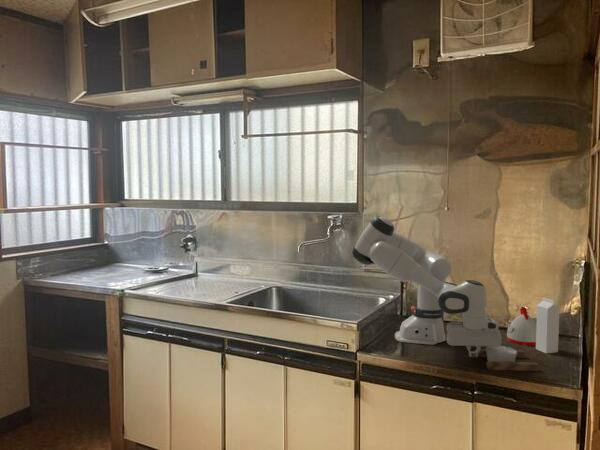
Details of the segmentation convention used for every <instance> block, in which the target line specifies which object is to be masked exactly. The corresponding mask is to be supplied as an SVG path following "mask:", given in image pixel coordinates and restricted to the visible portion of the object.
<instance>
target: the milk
mask: <svg viewBox="0 0 600 450" xmlns="http://www.w3.org/2000/svg"><path fill="white" fill-rule="evenodd" d="M559 326H560V306H558V305H557V304H555V301H554V300H553V299H551V298H546V297H542V301H541V302H540V303H538V304H537V305H536V345H535V350H537V351H539V352H542V353H544V354H555V353H558V352H559V336H560V335H559V334H560V333H559V331H560V327H559Z"/></svg>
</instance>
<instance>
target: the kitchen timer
mask: <svg viewBox="0 0 600 450" xmlns="http://www.w3.org/2000/svg"><path fill="white" fill-rule="evenodd" d="M519 310H520V315H517V316H516V317H515V318H514V319H513V320H512V321H511V323H508V325H507V332H506V341H508V342H509V343H511V344H514V345H519V346H526V347H527V346H528V347H536V324H537V322H536V321H535V320H534V319H533V318H532V317H531V316H530V315H529V314H528V313H529V312H528V311H527V308H526V307H525V306H521V307H520V309H519Z"/></svg>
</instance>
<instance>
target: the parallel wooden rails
mask: <svg viewBox="0 0 600 450" xmlns="http://www.w3.org/2000/svg"><path fill="white" fill-rule="evenodd" d="M515 350H516V351H517V355H516V358H515V359H526V351H525V350H521V349H515ZM478 357H479V358H487V352H486V348H485V349H484V348H483V349H482V348H481V349H480V351H479V352H478ZM478 357H477V358H478ZM486 369H487V370H489V371H491V370H492V371H494V370H495V371H519V372H520V371H521V372H538V371H539V364H538V363H537V362H529V361H527V362H525V361H523V362H522V361H519V362H518V361H515V362H495V361H488V360H486Z"/></svg>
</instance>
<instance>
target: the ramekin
mask: <svg viewBox="0 0 600 450" xmlns="http://www.w3.org/2000/svg"><path fill="white" fill-rule="evenodd" d="M485 349H486V352H487V357H486V358H487V361H495V362H516V359H517V358H516V355H517V351H516V350H517V349H515V348H513V347H509V346H505V345H500V346H499V347H486V346H485Z"/></svg>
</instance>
